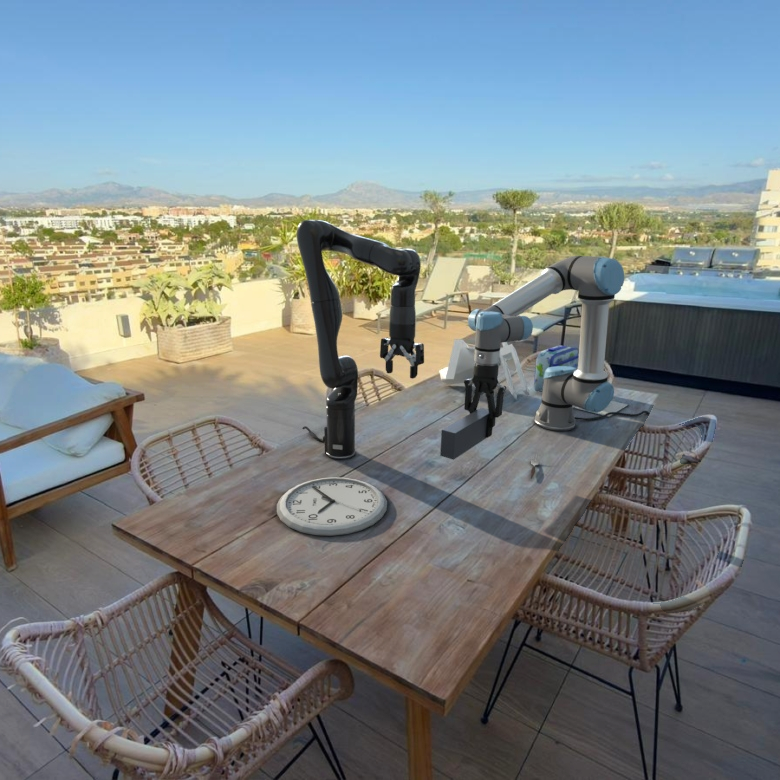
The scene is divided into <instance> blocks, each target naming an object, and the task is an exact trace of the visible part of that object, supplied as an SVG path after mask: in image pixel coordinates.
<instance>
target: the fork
mask: <svg viewBox="0 0 780 780" xmlns="http://www.w3.org/2000/svg"><path fill="white" fill-rule="evenodd" d="M540 456H541V454H539V456H538V454H536V456H534V455H532V456H531V461H530V464H531V465H532V468H531V470H530V479H531V480H532V479H533V477H534V474H535V472H536V466H539V465H540V459H541V458H540Z"/></svg>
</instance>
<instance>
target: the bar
mask: <svg viewBox="0 0 780 780" xmlns="http://www.w3.org/2000/svg"><path fill="white" fill-rule="evenodd" d="M488 417H489V409H488V408H485V407H480V408H477V410H476V411H474V412H473V413H471V414H470V413H469V414H467V415H465V416H464V417H462V418H460V419H458V420H456V421H455V422H452V423H450V424H449V425H448V426H445V427H444V428H441V433H440V434H441V437H440V452H439V453H440V457H444V458H446V459H450V460H453V461H454V460H456V459H457V458H459V457H460V456H462V455H463V454H465V453H466V452H468V451H469V450H471V449H473V448H474V447H475V446H477V445H478V444H480V443H482V442H483V441H485V440H486V439H488V438H487V437H486V425H487V418H488Z"/></svg>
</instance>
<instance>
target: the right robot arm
mask: <svg viewBox="0 0 780 780" xmlns="http://www.w3.org/2000/svg"><path fill="white" fill-rule="evenodd" d="M624 283H625V271H624V268H623V265H622V264H621V263H620V261H619V260H618V259H615V258H611V257H606V256H588V255H573V256H569V257H566V258H563V259H561V260H559V261H557V262H555V263H553V264H551V265H550V266H548V267H546V268H545V269H543V270H542V271H541V273H540V275H538V276H537V277H535V278H534V279H532V280H531V281H529V282H527V283H526V284H524V285H522V286H521V287H519V288H518V289H516V290H514V291H513V292H512V293H510V294H508V295H506V296H505V297H503V298H502V299H500V300H498V301H497V302H495V303H493V304H491V305H490V306H488V307H487V308H485V309H482V308H476V309H473V310H472V311H471V312H470V313H469V315H468V317H467V324H468V327H469V329H470V330H471V331H473V332H475V340H474V346H475V355H474V361H475V363H474V369H473V374H474V376H473V378H472V379H467V380H465V381H464V383H463V384H464V387H465V388H464V389H465V390H464V407H463V408H464V410H465V411H467V412H469V414H471V413H473V412H474V411H476V410H478V406H479V403H480V399H481V396H482V393H484V394H485V397H486V402H487V409H489V417H488V418H487V425H486V437H487V438H486V439H488V438H489V437H492V436H493V428H495V426H496V418H497V419H498V418H499V417H501V416H502V415H503V407H504V399H505V398H504V397H505V393H506V390H507V386H506V385H503V384H500V383H499V380H498V378H499V369H500V366H499V365H498V363H499V356H500V348H501V345H502V342H507V343H511V342H520V341H524V340H527V339H529V338H530V337H531V336H532V334H533V328H534V325H533V322H532V320H531V319H530V318H529V317H528V316H526V315H521V314H522V313H524V312H526V311H527V310H529V309H531V308H532V307H533V306H536V305H537V304H538V303H539V302H542V301H543V300H545V299H547V297H550V296H551V295H558V294H559V293H561V292H563V291H569V290H571V291H572V290H573V291H577V299H578V300H579V301H580V302H581V317H580V329H579V330H580V331H579V332H580V333H579V348H578V351H579V358H578V367H577V369H576V368H575V367H570V366H555V367H549V368H547V369H546V370H545V375H544V378H543V379H544V380H543V391H542V392H541V402H540V405H539V407H538V409H537V410H536V411H535V417H534V424H535V425H536V426H537V427H539V428H542V429H544V430H549V431H556V432H567V431H572V430H574V429H575V428H576V420H579V421H594V420H599V419H605V418H606V417H608V416H607V415H610V414H613V415H620V416H626V417H639V416H641V415H643V414H646V415H650V412H649V411H648V410H642V411H640V412H638V413H626V412H620V411H618V412H609V413H606V414H605V415H600V416H599V415H598V416H595V417H580V416H579V417H578V416H575V413H574V407H579V408H582V409H584V410H586V411H585V412H588V411H591V412H590V413H592V412H595V413H594V414H596V413H597V412H601V411H602V410H604V409H605V408H606V407H607V406H608V405H609V404H610V402H611V401H613V398H614V395H615V387H614V386H613V384H612V383H611V382H610V381H608V379H609V378H608V377H609V374H608V373H607V372H606V371H605V359H606V348H607V347H606V345H607V336H608V335H607V334H608V322H609V312H610V311H609V310H610V303H611V302H613V300H614V299H615V297H616V295H617V294H618V293H620V291H621V290H622V287H624ZM473 386H474V387H475V388H474V392H473ZM495 390H496V392H497V393H496V398H495ZM495 400H496V401H495ZM573 406H574V407H573ZM584 410H583V411H584Z"/></svg>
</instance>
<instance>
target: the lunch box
mask: <svg viewBox="0 0 780 780" xmlns="http://www.w3.org/2000/svg"><path fill="white" fill-rule="evenodd" d="M578 361H579V348H577V347H572V346H567V345H566V346H565V345H556V346H553V347H549V348H547V349H544V350H542V351H540V352H539V353H538V355H537V357H536V360H535V369H534V381H533V389H534V391H535V392H539V393H542V391H543V380H544V379H543V378H544V375H545V370H546V369H547V368H549V367H555V366H570V367H575V368H576V369H578Z"/></svg>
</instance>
